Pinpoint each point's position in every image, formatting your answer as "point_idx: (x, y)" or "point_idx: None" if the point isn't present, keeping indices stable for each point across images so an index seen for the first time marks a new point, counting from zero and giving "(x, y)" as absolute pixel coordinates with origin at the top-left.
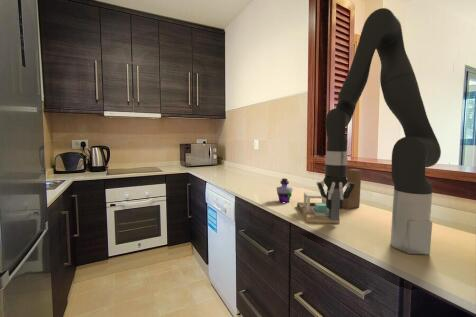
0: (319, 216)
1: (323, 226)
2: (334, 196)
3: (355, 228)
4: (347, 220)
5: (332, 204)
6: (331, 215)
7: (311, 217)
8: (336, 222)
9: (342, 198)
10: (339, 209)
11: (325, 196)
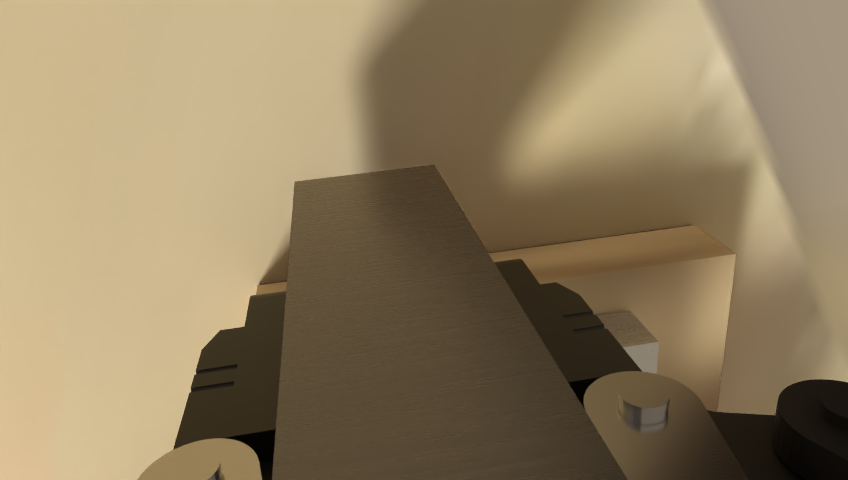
0: None
1: (530, 96)
2: (500, 459)
3: (41, 97)
4: (118, 425)
5: (483, 296)
6: (442, 192)
7: (691, 258)
8: None
9: (175, 469)
10: (288, 265)
11: (821, 406)
